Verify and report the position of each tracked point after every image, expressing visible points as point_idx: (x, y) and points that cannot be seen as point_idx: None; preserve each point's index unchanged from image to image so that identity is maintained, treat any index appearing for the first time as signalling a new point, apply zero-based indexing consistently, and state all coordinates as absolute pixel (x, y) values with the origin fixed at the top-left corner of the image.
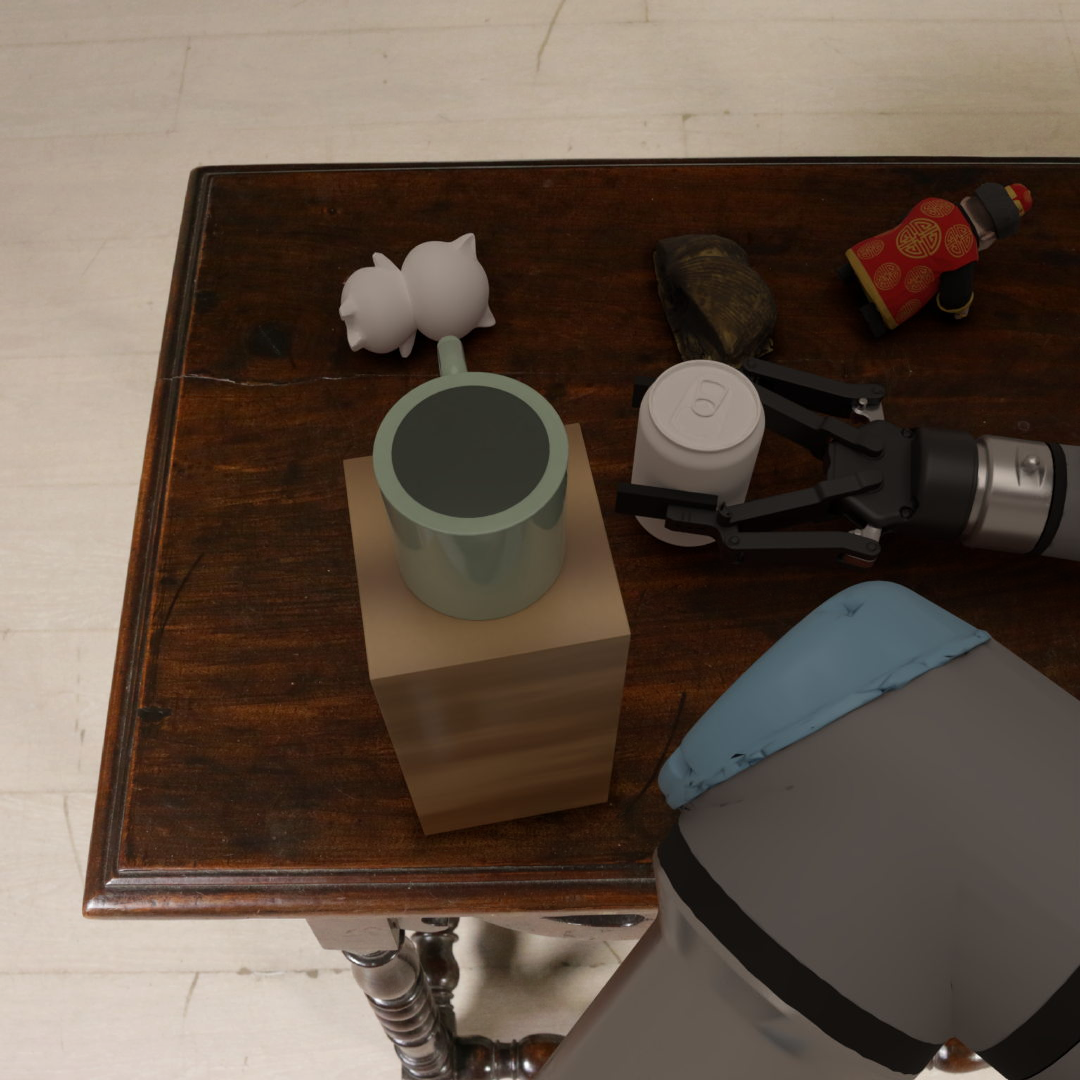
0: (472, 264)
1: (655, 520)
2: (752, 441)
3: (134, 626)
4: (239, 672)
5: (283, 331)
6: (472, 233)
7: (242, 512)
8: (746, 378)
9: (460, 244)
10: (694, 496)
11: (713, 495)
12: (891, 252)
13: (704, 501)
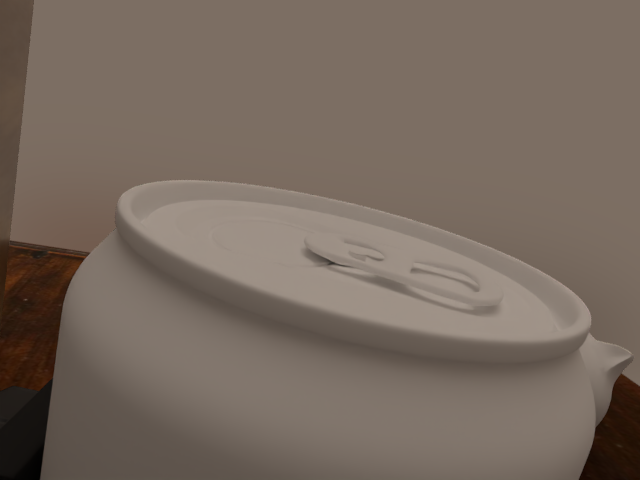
0: (589, 359)
1: None
2: (179, 349)
3: None
4: (57, 282)
5: None
6: (633, 355)
7: None
8: (569, 331)
9: (603, 342)
10: (44, 416)
11: (20, 463)
12: None
13: (5, 435)
